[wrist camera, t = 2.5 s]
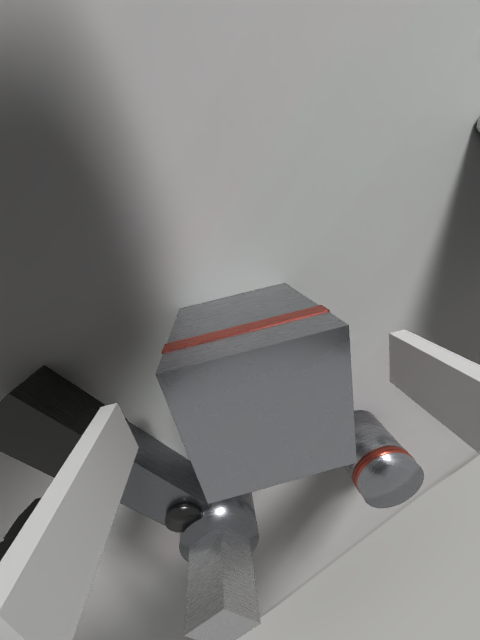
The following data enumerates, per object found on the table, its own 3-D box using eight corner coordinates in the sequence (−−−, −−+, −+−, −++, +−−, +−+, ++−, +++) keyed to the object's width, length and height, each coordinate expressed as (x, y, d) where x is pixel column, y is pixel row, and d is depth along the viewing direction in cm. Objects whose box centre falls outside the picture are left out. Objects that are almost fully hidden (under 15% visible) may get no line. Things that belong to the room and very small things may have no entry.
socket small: (318, 433, 19) (350, 490, 15) (360, 400, 18) (406, 450, 14) (346, 458, 20) (382, 517, 16) (386, 428, 20) (434, 481, 16)
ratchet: (-2, 411, 15) (-164, 550, 8) (55, 353, 14) (-76, 456, 8) (217, 531, 21) (221, 663, 15) (265, 495, 21) (292, 618, 14)
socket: (178, 308, 14) (153, 373, 8) (285, 282, 14) (350, 323, 8) (207, 397, 16) (207, 505, 10) (299, 372, 17) (357, 463, 10)
